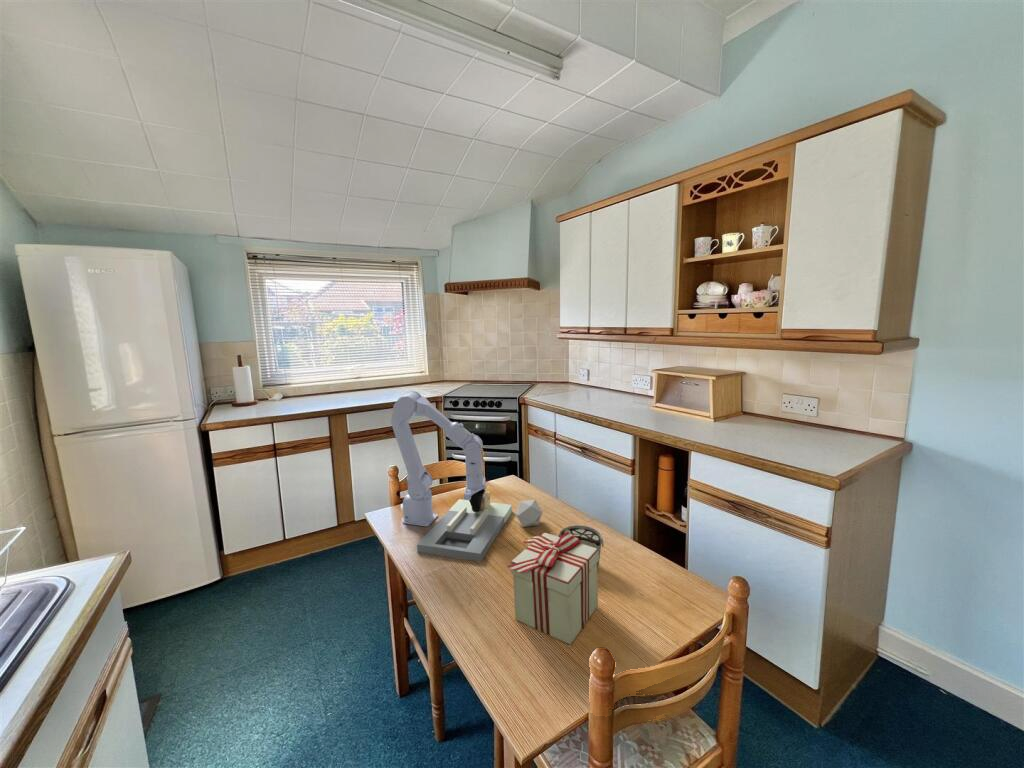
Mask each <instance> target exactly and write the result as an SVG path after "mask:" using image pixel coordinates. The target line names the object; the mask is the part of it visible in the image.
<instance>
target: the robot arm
mask: <svg viewBox="0 0 1024 768" xmlns="http://www.w3.org/2000/svg"><path fill="white" fill-rule="evenodd" d="M413 415H414V416H416V417H421V416H423V417H424V416H425V417H426V418H428V419H429V420H430V421H431V422H433V423H434V424H436V425H437V426H438V427H440V428H441V429H442V430H444V433H445V436H446V437H447V438H448V439H449V440H450V441H451V442H453V443H454V444H455V445H457V446H458V447H459V448H460V449H462V452H463V454H464V456H465V461H464V462H465V477H466V478H465V480H466V481H465V482H466V485H465V492H464V493H463V500H469V501H470V504H471V507H472V510H473V511H474V512H479V511H480V507H481V501H482V497H483V495H484V492H485V491H486V489H487V488H488V485H487V484H486V477H485V476H484V462H483V461H484V459H483V453H482V449H483V443H484V442H483V440H482V439H481V437H480V436H479V435H476V434H474V433H473V432H472V433H471V432H470V431H469V430H467V429H466V428H465V427H464V424H463V423H462V422H460V423H459V422H458V421H451V420H450V419H449V418H447V417H446V416H445V414H443V413H442V412H441V411H440V410H439V409H437V408H436V407H435V406H434V405H433V404H432V403H431V402H430V401H429V400H428V399H427V397H425V396H422V395H421V393H419V392H418V391H415V390H410V391H408V392H407V393H405V395H402V396H401V397H399V398H398V399H397V400H396V401H395V403H394V404H393V411H392V415H391V419H390V424H391V427H392V430H393V434H394V436H395V440H396V442H397V446H398V447H399V451H400V454H401V457H402V460H403V462H404V465H405V468H406V471H407V473H406V483H407V490H406V491H407V494H406V495H405V496H404V497H403V501H402V512H403V513H402V515H403V521H402V524H406V525H413V526H420V527H429V526H430V525H431V524H432V523H433V522H434V521H435V520H436V519H437V518H438V517H439V514H438V513H434V507H433V506H434V505H433V494H432V493H433V492H432V490H431V486H432V485H433V477H432V475H431V474H430V473H429V472H428V471H427V467H426V466H424V465H423V462H422V461H421V457H420V455H419V451H418V449H417V444H416V442H415V438H414V436H413V433H412V430H411V427H410V424H409V421H410V420H411V418H412V416H413Z"/></svg>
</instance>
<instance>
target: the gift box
mask: <svg viewBox="0 0 1024 768" xmlns="http://www.w3.org/2000/svg"><path fill="white" fill-rule="evenodd" d="M580 542H581V541H580V540H579V539H578V538H576V537H575V536H573V535H572V534H571V533H569V532H566V533H564V534H563V535H562V536H561V537H559V535H553V534H551V533H546V532H543V533H542V534H541V535H540V534H538V535H535V536H532V537H531V538H529V539H527V540H523V541H522V543H523V544H529V545H528V546H527V547H526V548H525V549H523V550H522V551H521V552H520V553H519V554H518V555H517V556H516V557H515V558H514V559H511V561H510V565H507V566H506V568H509V569H510V574H511V575H512V579H513V600H514V601H513V602H514V615H515V616H514V618H515V620H516V621H517V622H519V623H522V624H524V625H527V626H528V627H531V628H533V629H535V630H537V631H539V632H541V633H543V634H546V635H547V636H550V637H552V638H554V639H556V640H559V641H561V642H562V643H565V644H567V645H572V644H573V642H574V641H575V639H576V637H577V636H578V635H579V633H580V632H581V630H583V629H584V627H585V625H586V623H587V622H588V621H589V619H590V618H591V616H592V615H593V614H594V612H595V611H596V609H597V607H599V596H598V595H599V592H598V591H599V590H598V587H599V586H598V574H597V562H598V561H599V562H600V559H599V549H597V548H594V547H591V546H588V545H584V544H581V543H580Z"/></svg>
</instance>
